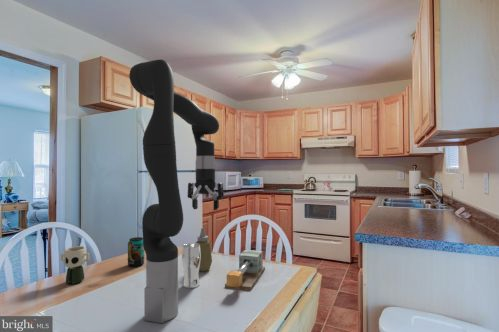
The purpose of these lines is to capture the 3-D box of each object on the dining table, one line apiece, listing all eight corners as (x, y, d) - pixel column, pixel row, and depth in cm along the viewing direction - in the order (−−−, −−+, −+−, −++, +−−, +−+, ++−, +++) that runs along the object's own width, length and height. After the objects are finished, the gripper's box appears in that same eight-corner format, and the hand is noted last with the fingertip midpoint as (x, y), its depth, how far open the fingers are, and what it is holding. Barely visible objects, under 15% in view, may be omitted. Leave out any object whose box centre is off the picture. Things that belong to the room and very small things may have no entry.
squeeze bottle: (210, 273, 120) (210, 230, 120) (191, 272, 120) (191, 230, 120) (213, 266, 128) (213, 226, 128) (195, 266, 128) (195, 226, 128)
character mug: (55, 285, 107) (54, 251, 107) (66, 278, 115) (66, 246, 115) (84, 285, 108) (84, 251, 108) (94, 278, 115) (94, 245, 115)
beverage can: (124, 266, 128) (124, 240, 128) (134, 261, 135) (134, 236, 135) (137, 268, 126) (137, 241, 126) (147, 263, 133) (147, 237, 133)
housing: (250, 290, 103) (250, 268, 103) (224, 287, 106) (224, 265, 106) (265, 269, 124) (265, 251, 124) (243, 267, 127) (243, 249, 127)
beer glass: (196, 289, 104) (196, 248, 104) (178, 288, 105) (178, 247, 105) (203, 282, 111) (203, 243, 111) (186, 280, 112) (186, 242, 112)
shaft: (238, 287, 98) (238, 275, 98) (226, 285, 100) (226, 274, 100) (255, 266, 119) (255, 256, 119) (245, 265, 121) (245, 255, 121)
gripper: (184, 167, 109) (184, 210, 109) (218, 167, 105) (218, 211, 105) (193, 167, 116) (193, 207, 116) (226, 167, 112) (226, 208, 112)
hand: (205, 209), depth 111 cm, fingers open, 8 cm apart
